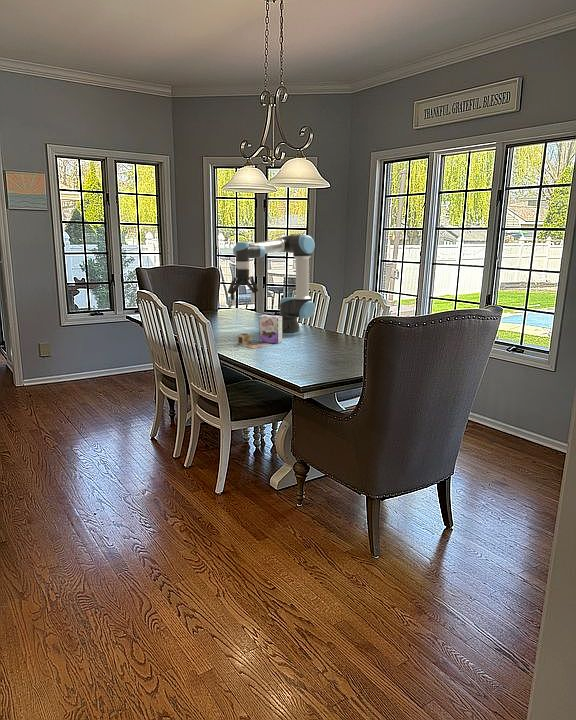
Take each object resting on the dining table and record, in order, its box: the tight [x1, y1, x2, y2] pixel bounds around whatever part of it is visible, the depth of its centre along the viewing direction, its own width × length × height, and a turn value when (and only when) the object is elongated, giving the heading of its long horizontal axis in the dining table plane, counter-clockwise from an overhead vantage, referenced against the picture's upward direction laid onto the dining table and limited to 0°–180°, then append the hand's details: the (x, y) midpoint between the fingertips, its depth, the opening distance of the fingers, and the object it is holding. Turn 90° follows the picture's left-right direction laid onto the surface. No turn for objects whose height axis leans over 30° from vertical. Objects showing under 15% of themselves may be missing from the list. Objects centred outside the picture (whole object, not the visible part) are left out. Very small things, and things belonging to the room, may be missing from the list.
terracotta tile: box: [245, 344, 263, 350], centre depth 316 cm, size 7×7×1 cm
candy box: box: [258, 314, 283, 345], centre depth 329 cm, size 14×6×16 cm, turn 62°
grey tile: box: [256, 342, 273, 348], centre depth 321 cm, size 7×7×1 cm
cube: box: [237, 332, 253, 347], centre depth 324 cm, size 6×6×6 cm
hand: (243, 304), depth 319 cm, fingers open, 13 cm apart
